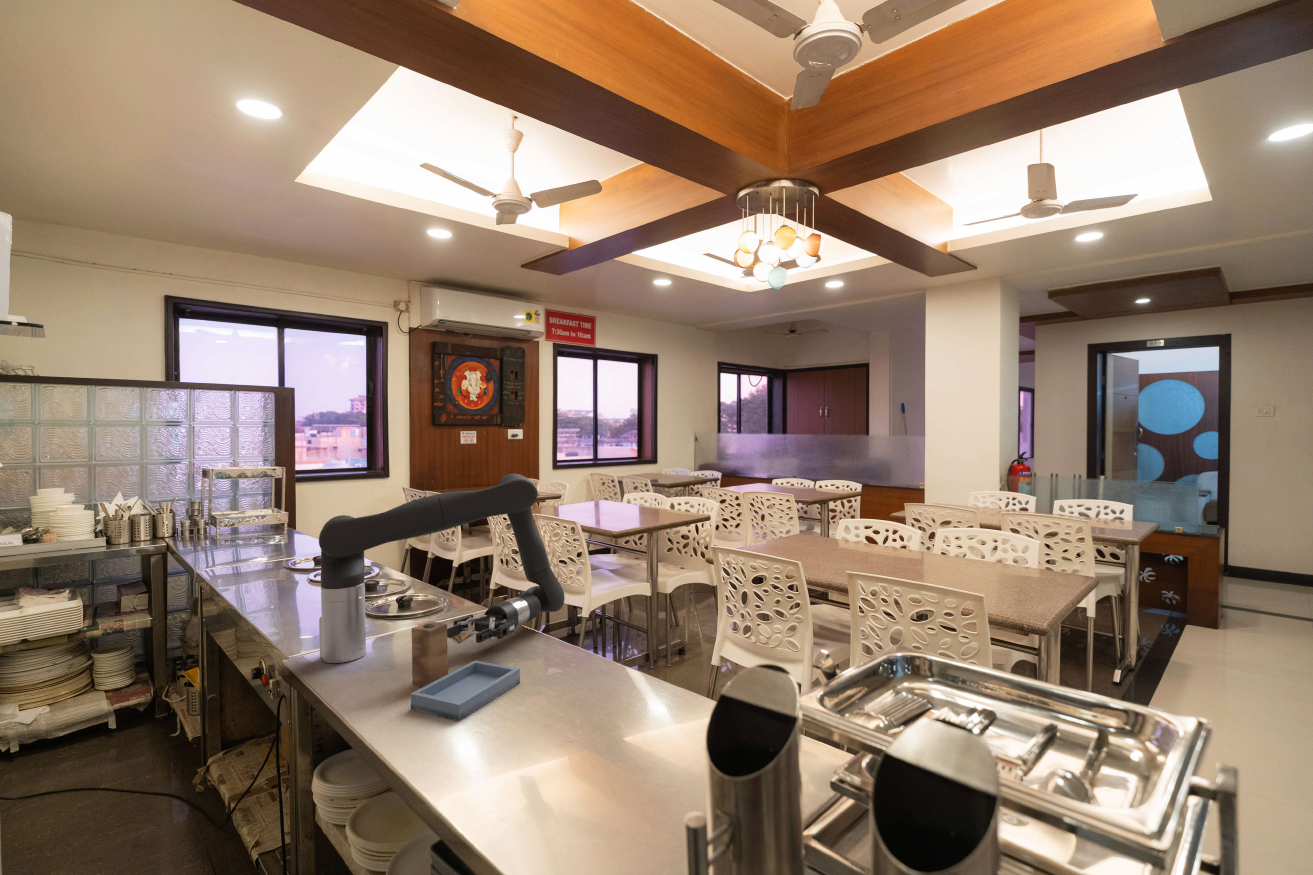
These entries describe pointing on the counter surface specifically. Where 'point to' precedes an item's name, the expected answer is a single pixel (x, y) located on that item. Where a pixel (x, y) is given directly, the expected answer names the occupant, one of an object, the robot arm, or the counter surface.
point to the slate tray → (465, 690)
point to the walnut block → (429, 653)
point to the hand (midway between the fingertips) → (462, 636)
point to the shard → (464, 635)
